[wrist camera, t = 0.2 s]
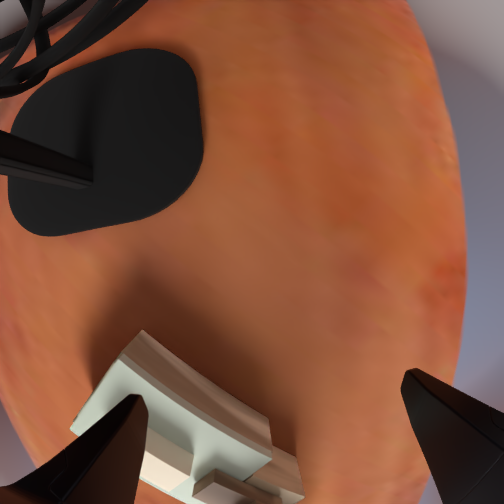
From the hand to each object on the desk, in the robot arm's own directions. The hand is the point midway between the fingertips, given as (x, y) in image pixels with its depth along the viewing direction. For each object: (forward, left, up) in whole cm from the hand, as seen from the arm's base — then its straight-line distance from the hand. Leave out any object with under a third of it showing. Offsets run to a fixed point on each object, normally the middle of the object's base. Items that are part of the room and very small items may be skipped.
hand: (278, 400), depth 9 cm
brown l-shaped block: (-13, -9, -9) cm, 18 cm away
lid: (-13, -1, -10) cm, 17 cm away
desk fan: (+2, +20, -15) cm, 25 cm away
